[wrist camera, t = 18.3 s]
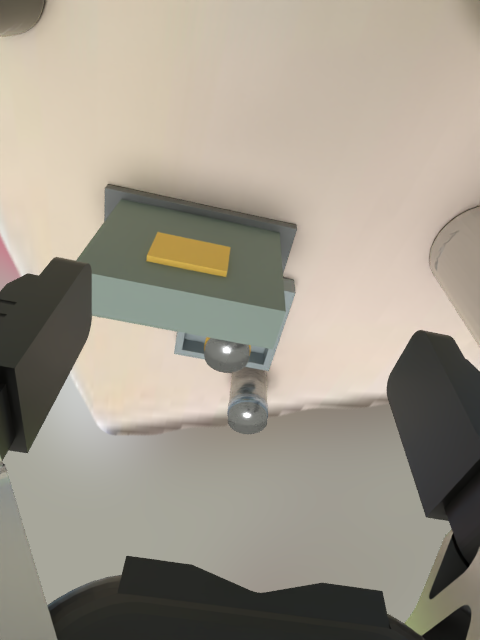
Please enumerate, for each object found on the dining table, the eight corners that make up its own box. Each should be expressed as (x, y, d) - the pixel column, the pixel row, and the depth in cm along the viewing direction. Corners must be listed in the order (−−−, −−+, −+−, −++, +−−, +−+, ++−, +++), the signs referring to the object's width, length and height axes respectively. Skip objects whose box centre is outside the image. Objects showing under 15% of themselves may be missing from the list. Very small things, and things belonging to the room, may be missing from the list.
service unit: (296, 224, 41) (309, 307, 30) (282, 269, 44) (289, 359, 33) (108, 184, 39) (46, 255, 28) (107, 233, 42) (51, 315, 31)
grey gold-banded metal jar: (247, 333, 48) (244, 377, 43) (207, 326, 48) (199, 368, 42) (256, 301, 46) (255, 342, 40) (213, 293, 45) (207, 333, 40)
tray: (293, 279, 44) (295, 292, 42) (268, 356, 51) (268, 371, 49) (190, 258, 44) (186, 271, 41) (177, 339, 50) (174, 353, 48)
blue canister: (271, 367, 52) (272, 411, 46) (262, 393, 55) (262, 437, 49) (234, 361, 52) (231, 404, 46) (227, 387, 54) (223, 430, 49)
